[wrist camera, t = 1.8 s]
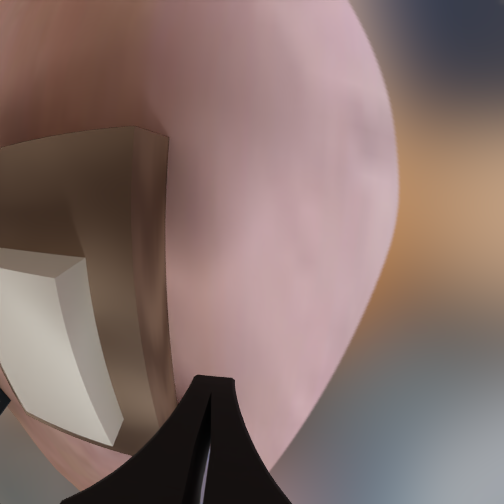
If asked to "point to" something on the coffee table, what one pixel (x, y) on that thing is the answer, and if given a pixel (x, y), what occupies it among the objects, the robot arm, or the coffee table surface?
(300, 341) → the coffee table surface
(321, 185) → the coffee table surface
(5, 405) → the watch
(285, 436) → the coffee table surface
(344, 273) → the coffee table surface
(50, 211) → the brown wooden block
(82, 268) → the tile
